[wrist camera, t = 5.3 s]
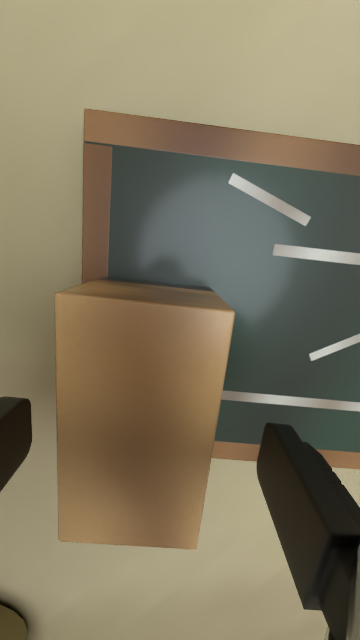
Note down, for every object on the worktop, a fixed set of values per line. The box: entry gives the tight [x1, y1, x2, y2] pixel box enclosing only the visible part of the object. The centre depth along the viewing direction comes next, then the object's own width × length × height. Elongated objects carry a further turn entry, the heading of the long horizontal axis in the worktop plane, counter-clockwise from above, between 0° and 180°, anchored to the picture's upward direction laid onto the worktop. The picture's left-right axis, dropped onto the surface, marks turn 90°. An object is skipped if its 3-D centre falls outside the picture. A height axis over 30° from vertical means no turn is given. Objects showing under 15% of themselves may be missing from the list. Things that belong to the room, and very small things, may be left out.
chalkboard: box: [82, 109, 360, 469], centre depth 13 cm, size 22×16×1 cm
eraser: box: [55, 277, 235, 549], centre depth 11 cm, size 5×9×5 cm, turn 174°
